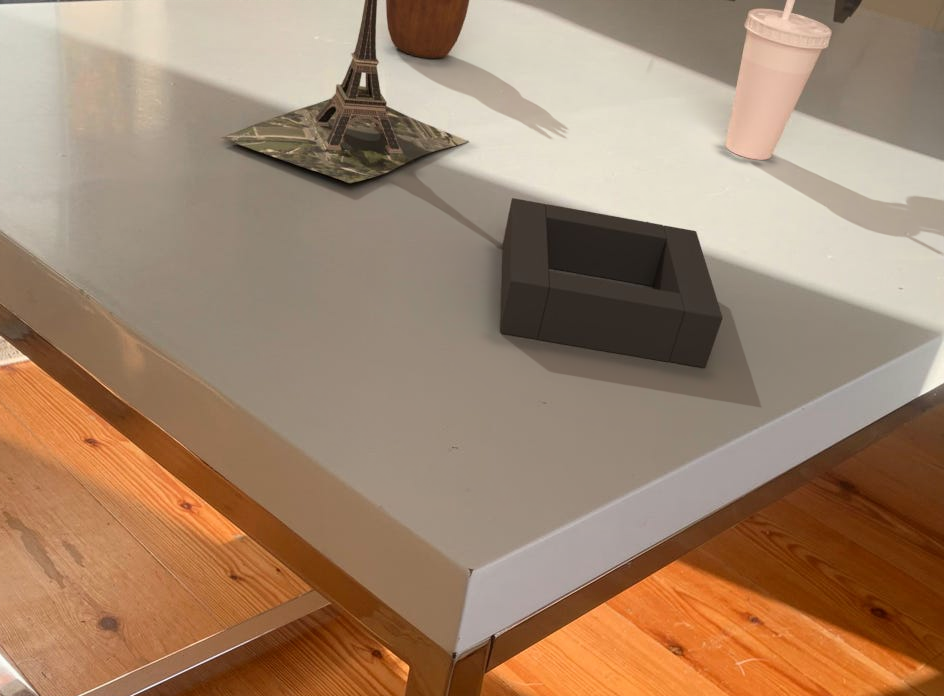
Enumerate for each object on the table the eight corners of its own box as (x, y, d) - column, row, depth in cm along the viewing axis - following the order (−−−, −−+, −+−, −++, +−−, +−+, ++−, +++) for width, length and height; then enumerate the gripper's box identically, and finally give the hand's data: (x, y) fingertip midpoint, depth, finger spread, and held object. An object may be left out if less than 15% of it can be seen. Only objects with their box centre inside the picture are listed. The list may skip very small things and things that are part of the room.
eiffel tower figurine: (350, 98, 83) (370, -107, 74) (469, 141, 80) (504, -67, 71) (220, 143, 72) (227, -91, 63) (353, 195, 69) (378, -44, 60)
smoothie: (694, 133, 90) (751, -60, 81) (760, 136, 92) (822, -51, 84) (735, 165, 85) (800, -35, 77) (803, 167, 88) (873, -27, 79)
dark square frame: (681, 277, 68) (696, 230, 66) (705, 368, 59) (723, 317, 57) (502, 245, 67) (511, 197, 65) (499, 333, 58) (510, 280, 56)
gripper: (738, -249, 82) (711, -44, 80) (925, -209, 83) (903, -6, 81) (707, -173, 89) (682, 17, 87) (879, -137, 90) (858, 51, 88)
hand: (788, 6), depth 84 cm, fingers open, 8 cm apart
